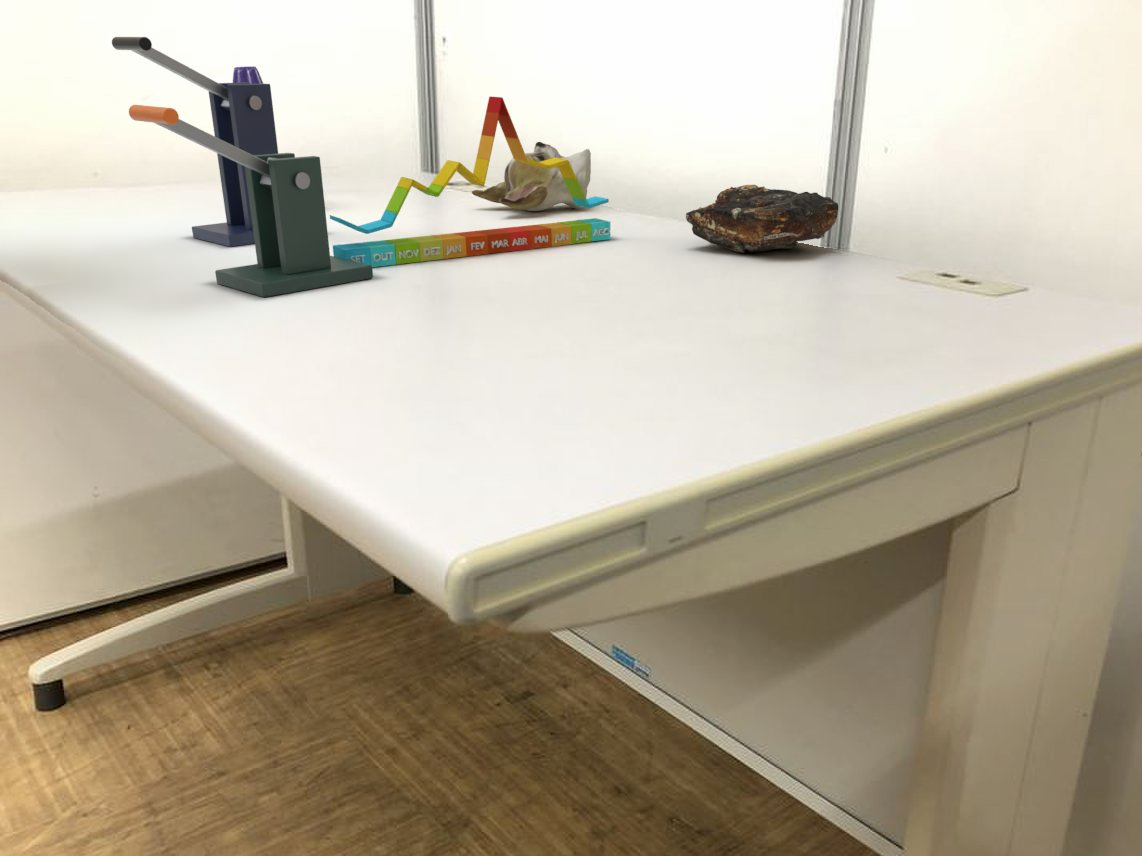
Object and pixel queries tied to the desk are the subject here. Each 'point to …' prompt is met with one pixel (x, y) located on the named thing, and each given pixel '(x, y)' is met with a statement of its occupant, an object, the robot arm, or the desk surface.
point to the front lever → (200, 138)
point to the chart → (482, 239)
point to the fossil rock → (763, 218)
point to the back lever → (171, 65)
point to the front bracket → (290, 233)
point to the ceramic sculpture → (538, 181)
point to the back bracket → (250, 133)
